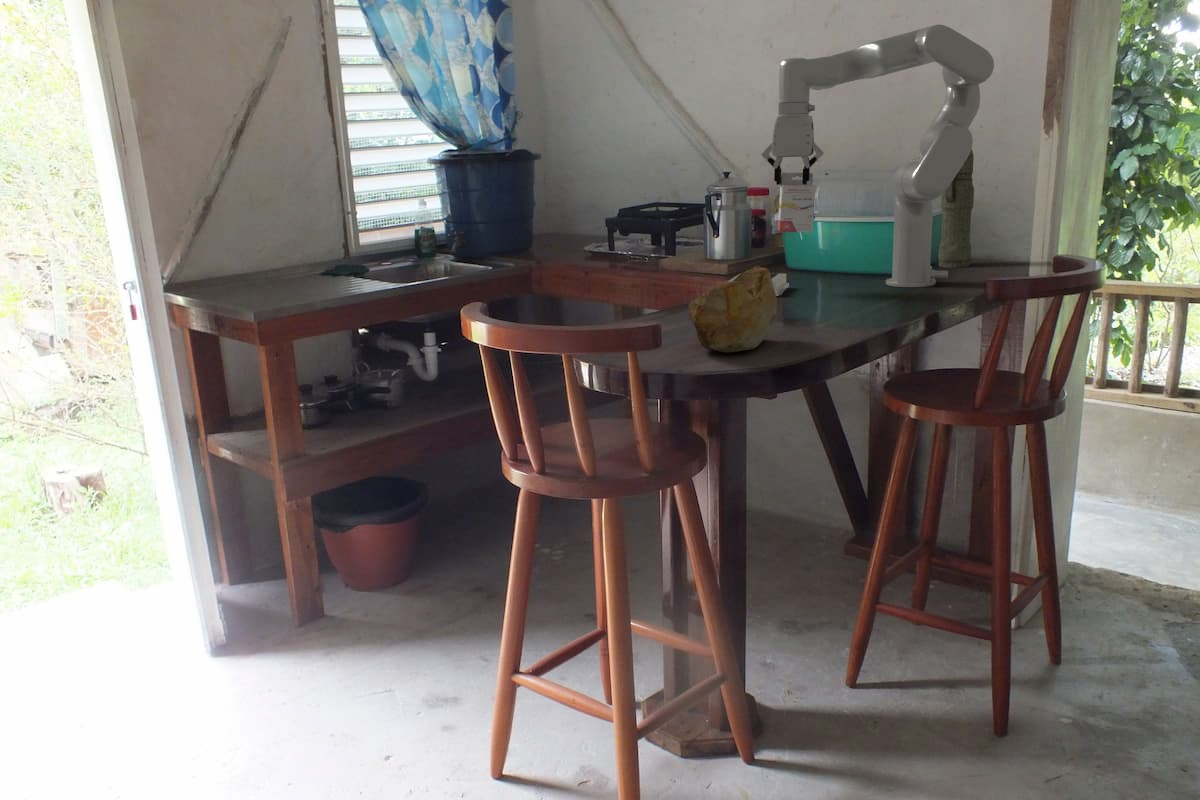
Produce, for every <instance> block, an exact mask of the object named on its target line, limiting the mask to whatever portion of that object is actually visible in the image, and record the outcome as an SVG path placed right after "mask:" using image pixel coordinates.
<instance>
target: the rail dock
mask: <svg viewBox="0 0 1200 800" xmlns="http://www.w3.org/2000/svg"><path fill="white" fill-rule="evenodd" d="M741 273H742V272H741ZM741 273H739V274H737V275H735V276H734V277H732V278H731V279H729V280H727V282H732V281H733V280H734V279H735V278H737V277H738V276H739V275H740V274H741ZM770 275H771V279H772V283H773V287H774V291H775V294H776V296H779V295H780V296H781V295H782V294H784V293H785V292H786V291H787V290H788V289H789V288H790V283H789V282H787V273H770ZM788 287H789V288H788ZM787 288H788V289H787ZM786 289H787V290H786ZM785 290H786V291H785ZM784 291H785V292H784ZM783 292H784V293H783ZM780 296H779V297H780Z"/></svg>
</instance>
